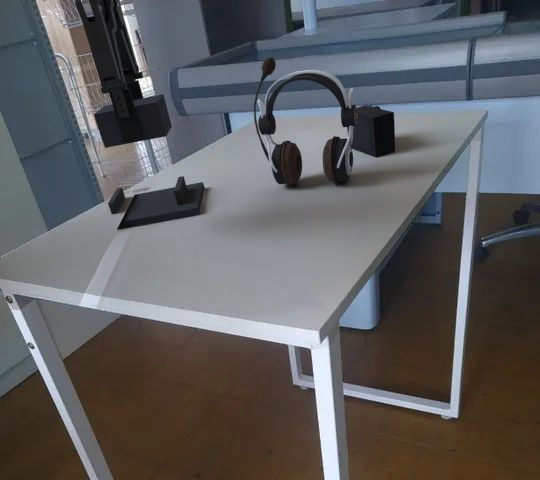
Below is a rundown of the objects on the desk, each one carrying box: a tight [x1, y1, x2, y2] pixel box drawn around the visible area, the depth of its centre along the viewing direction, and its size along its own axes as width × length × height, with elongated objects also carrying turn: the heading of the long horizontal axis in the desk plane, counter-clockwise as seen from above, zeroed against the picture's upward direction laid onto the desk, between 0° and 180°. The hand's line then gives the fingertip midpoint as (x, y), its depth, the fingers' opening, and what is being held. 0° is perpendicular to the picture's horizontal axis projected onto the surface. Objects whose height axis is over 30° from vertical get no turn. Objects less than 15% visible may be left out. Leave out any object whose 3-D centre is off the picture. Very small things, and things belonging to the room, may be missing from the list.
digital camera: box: [346, 105, 396, 158], centre depth 103 cm, size 10×5×7 cm, turn 22°
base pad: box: [107, 175, 205, 230], centre depth 96 cm, size 18×14×4 cm
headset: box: [253, 56, 358, 188], centre depth 88 cm, size 17×8×20 cm, turn 71°
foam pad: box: [93, 93, 173, 149], centre depth 78 cm, size 9×6×4 cm, turn 91°
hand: (138, 134), depth 79 cm, fingers closed on foam pad, 6 cm apart
